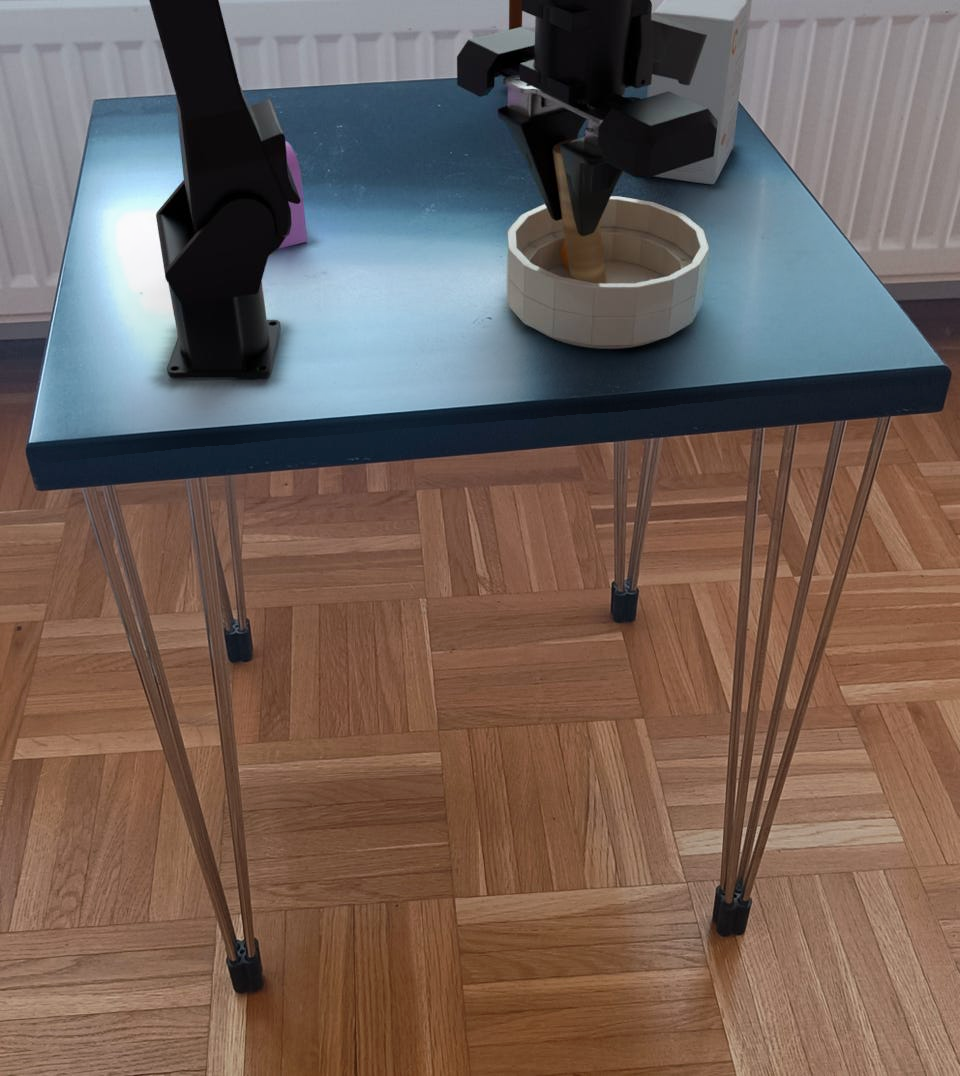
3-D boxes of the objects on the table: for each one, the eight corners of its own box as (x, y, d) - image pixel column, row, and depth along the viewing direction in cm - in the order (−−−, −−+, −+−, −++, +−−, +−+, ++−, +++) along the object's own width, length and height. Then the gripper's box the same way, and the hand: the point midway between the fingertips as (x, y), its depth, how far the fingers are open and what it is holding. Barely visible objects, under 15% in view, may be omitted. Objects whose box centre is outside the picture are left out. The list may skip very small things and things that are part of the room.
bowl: (712, 356, 81) (722, 287, 78) (509, 357, 81) (510, 288, 78) (685, 260, 91) (693, 195, 88) (504, 260, 91) (505, 196, 88)
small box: (661, 138, 108) (676, -20, 100) (734, 148, 106) (755, -12, 98) (637, 175, 102) (651, 10, 94) (714, 186, 100) (735, 19, 92)
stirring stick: (600, 296, 84) (583, 153, 78) (567, 295, 85) (547, 153, 79) (611, 279, 85) (595, 137, 79) (578, 278, 86) (559, 138, 80)
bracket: (307, 241, 93) (298, 151, 89) (237, 259, 91) (224, 167, 87) (242, 178, 102) (231, 93, 97) (176, 193, 100) (162, 107, 95)
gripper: (803, -9, 70) (763, 246, 80) (591, -80, 81) (578, 151, 91) (653, 29, 65) (630, 297, 75) (450, -53, 76) (453, 188, 86)
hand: (573, 226), depth 82 cm, fingers closed on stirring stick, 2 cm apart
